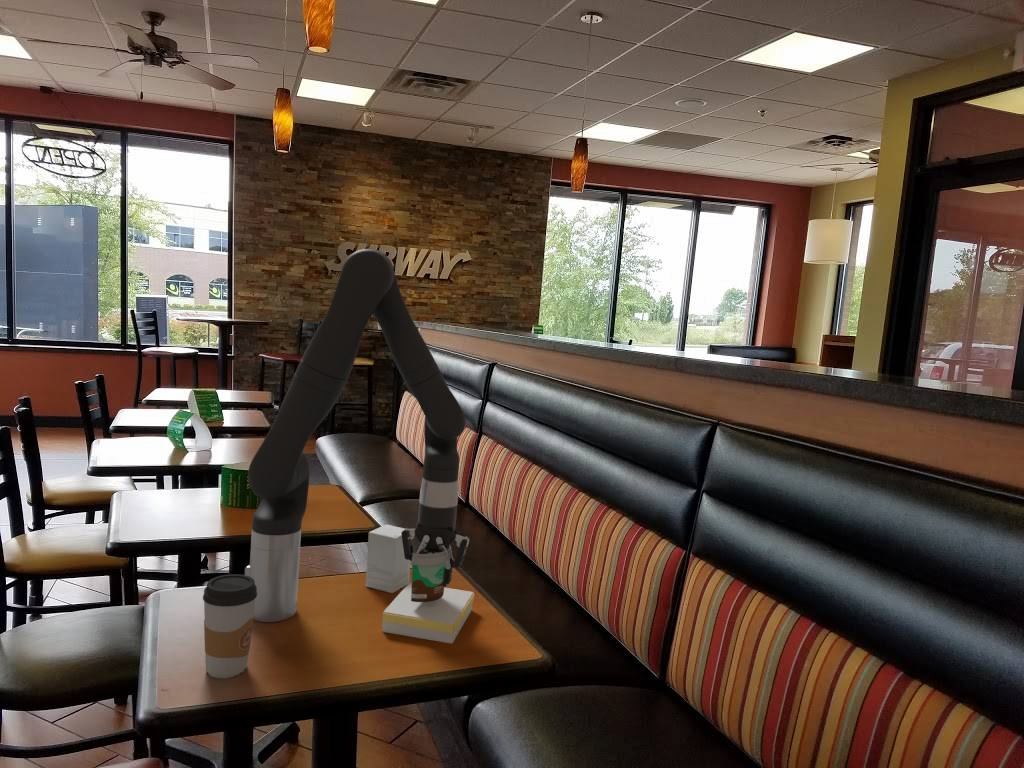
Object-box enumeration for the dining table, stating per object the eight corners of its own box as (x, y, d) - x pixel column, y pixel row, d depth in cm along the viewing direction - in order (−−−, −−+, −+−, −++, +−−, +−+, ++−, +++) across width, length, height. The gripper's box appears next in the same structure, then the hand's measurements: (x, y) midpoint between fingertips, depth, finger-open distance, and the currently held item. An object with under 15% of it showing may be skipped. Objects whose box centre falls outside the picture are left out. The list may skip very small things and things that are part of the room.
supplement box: (410, 583, 160) (414, 529, 159) (391, 594, 153) (396, 538, 152) (383, 576, 163) (386, 523, 161) (363, 586, 156) (367, 531, 155)
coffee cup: (235, 686, 112) (240, 596, 110) (188, 677, 113) (192, 588, 112) (262, 661, 120) (267, 577, 119) (218, 653, 121) (222, 570, 120)
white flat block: (381, 632, 135) (382, 612, 134) (408, 599, 151) (409, 581, 150) (453, 644, 132) (455, 624, 132) (473, 610, 148) (474, 592, 148)
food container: (439, 609, 134) (442, 558, 133) (408, 604, 136) (411, 554, 135) (456, 586, 146) (459, 539, 146) (428, 581, 148) (431, 535, 147)
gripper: (397, 500, 137) (391, 584, 138) (469, 510, 134) (461, 595, 136) (410, 491, 144) (403, 571, 146) (477, 501, 142) (470, 581, 143)
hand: (431, 582), depth 141 cm, fingers closed on food container, 5 cm apart
